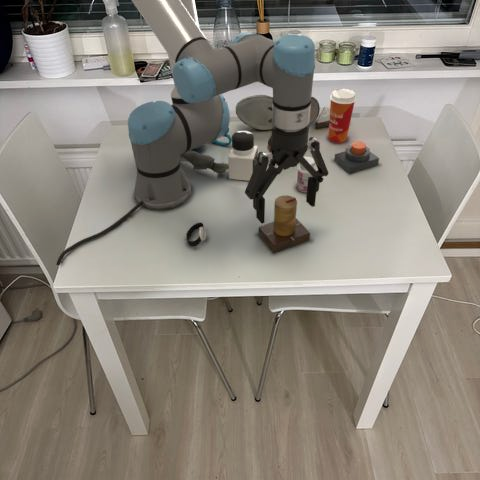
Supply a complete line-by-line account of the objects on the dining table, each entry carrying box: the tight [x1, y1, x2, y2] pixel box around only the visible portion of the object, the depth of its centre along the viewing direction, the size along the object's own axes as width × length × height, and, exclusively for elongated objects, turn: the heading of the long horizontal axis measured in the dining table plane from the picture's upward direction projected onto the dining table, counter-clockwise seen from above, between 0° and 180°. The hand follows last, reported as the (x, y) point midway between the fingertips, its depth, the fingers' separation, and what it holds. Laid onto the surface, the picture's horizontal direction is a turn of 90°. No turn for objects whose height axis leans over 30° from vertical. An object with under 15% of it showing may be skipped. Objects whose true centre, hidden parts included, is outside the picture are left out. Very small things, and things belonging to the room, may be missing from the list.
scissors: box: [212, 126, 232, 146], centre depth 148 cm, size 7×1×20 cm
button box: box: [333, 144, 380, 175], centre depth 138 cm, size 10×8×4 cm
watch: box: [185, 222, 207, 247], centre depth 116 cm, size 8×5×4 cm, turn 170°
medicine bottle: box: [227, 130, 259, 182], centre depth 132 cm, size 7×7×12 cm
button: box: [351, 141, 367, 155], centre depth 136 cm, size 4×4×2 cm
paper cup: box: [328, 88, 357, 144], centre depth 143 cm, size 8×8×14 cm
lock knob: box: [273, 194, 298, 236], centre depth 112 cm, size 5×5×8 cm
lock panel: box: [258, 217, 311, 254], centre depth 116 cm, size 10×9×3 cm
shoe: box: [235, 94, 321, 131], centre depth 154 cm, size 10×27×12 cm
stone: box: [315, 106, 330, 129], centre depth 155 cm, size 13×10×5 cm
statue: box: [180, 150, 229, 175], centre depth 138 cm, size 7×8×30 cm
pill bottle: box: [296, 156, 317, 193], centre depth 128 cm, size 5×5×8 cm
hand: (285, 211), depth 111 cm, fingers open, 13 cm apart
